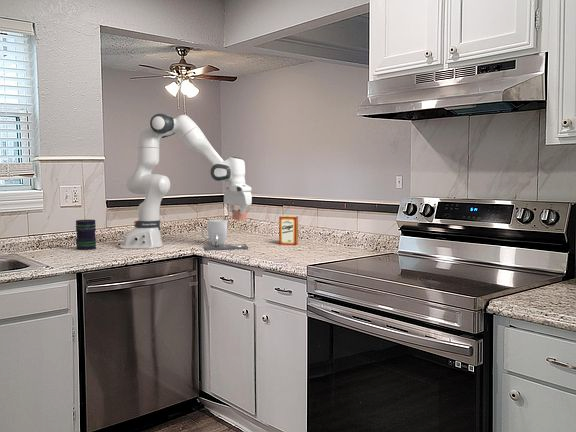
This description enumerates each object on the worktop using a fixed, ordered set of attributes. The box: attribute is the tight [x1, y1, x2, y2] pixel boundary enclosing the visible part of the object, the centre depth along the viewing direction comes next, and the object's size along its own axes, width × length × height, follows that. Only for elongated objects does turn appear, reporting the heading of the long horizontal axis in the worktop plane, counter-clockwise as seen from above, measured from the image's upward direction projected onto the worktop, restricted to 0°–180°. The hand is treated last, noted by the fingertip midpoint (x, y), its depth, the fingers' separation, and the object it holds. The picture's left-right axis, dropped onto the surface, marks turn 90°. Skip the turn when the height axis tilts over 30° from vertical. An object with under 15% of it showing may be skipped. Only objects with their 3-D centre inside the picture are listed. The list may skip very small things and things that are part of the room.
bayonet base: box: [204, 235, 249, 251], centre depth 299 cm, size 22×12×7 cm, turn 102°
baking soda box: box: [278, 214, 299, 246], centre depth 315 cm, size 10×6×16 cm
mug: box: [200, 219, 228, 245], centre depth 316 cm, size 15×11×13 cm
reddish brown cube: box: [231, 208, 247, 221], centre depth 300 cm, size 5×5×5 cm
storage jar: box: [75, 219, 97, 251], centre depth 295 cm, size 10×10×15 cm
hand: (237, 213), depth 299 cm, fingers closed on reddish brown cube, 5 cm apart
